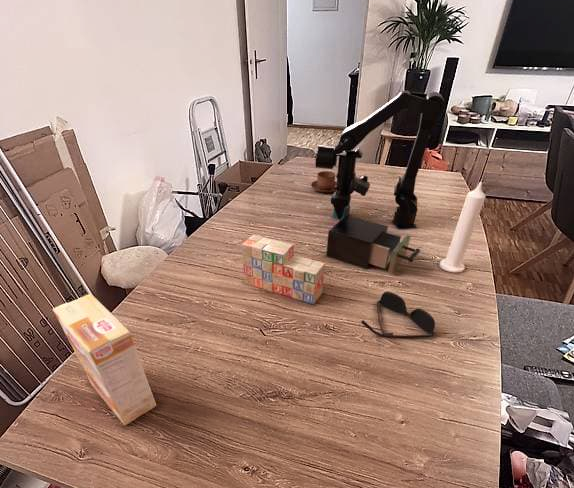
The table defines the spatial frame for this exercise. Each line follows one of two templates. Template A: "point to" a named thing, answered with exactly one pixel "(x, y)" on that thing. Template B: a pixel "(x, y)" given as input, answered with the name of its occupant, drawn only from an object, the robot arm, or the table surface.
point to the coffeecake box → (107, 356)
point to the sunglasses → (398, 305)
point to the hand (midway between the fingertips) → (341, 214)
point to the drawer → (390, 251)
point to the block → (345, 213)
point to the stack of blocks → (281, 269)
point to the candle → (464, 231)
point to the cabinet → (353, 240)
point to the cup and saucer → (324, 182)
